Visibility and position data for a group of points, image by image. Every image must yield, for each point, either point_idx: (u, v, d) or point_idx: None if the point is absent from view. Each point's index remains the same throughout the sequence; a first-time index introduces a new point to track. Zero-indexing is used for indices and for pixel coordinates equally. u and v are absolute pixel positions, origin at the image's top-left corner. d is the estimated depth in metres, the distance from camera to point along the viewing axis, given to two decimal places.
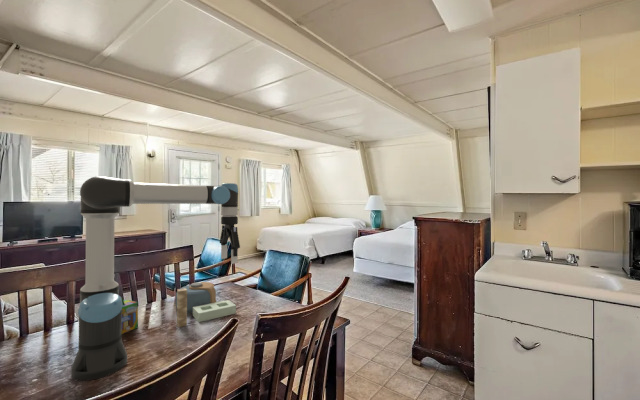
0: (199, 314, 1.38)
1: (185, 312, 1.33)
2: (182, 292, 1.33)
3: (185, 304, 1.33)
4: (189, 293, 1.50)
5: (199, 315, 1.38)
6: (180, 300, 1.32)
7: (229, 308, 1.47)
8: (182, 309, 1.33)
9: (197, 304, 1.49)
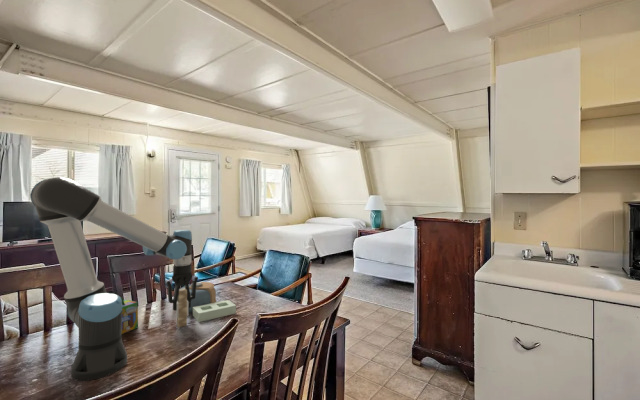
0: (199, 314, 1.38)
1: (185, 312, 1.33)
2: (182, 292, 1.33)
3: (185, 304, 1.33)
4: None
5: (199, 315, 1.38)
6: (180, 300, 1.32)
7: (229, 308, 1.47)
8: (182, 309, 1.33)
9: (197, 304, 1.49)
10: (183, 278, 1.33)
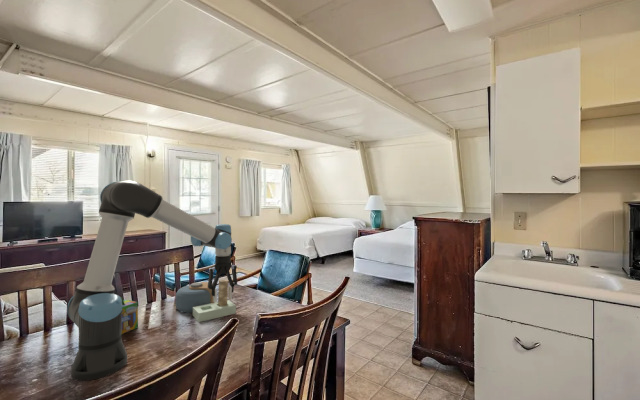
0: (199, 314, 1.38)
1: (226, 301, 1.49)
2: (224, 282, 1.48)
3: (226, 293, 1.49)
4: (189, 293, 1.50)
5: (199, 315, 1.38)
6: (222, 290, 1.48)
7: (229, 308, 1.47)
8: (223, 298, 1.48)
9: (197, 304, 1.49)
10: (224, 268, 1.49)
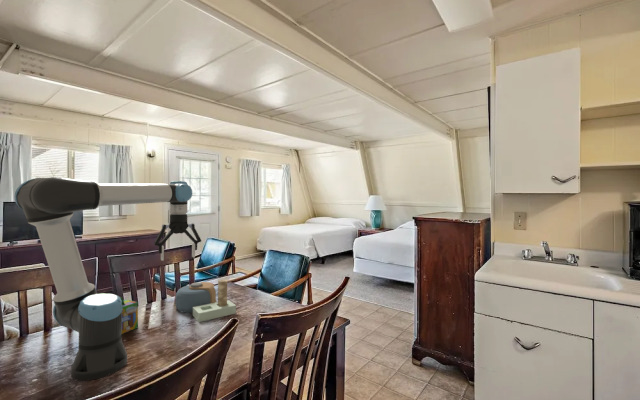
0: (199, 314, 1.38)
1: (225, 301, 1.49)
2: (223, 283, 1.48)
3: (225, 293, 1.49)
4: (189, 293, 1.50)
5: (199, 315, 1.38)
6: (221, 290, 1.48)
7: (229, 308, 1.47)
8: (223, 298, 1.48)
9: (197, 304, 1.49)
10: (179, 228, 1.40)
